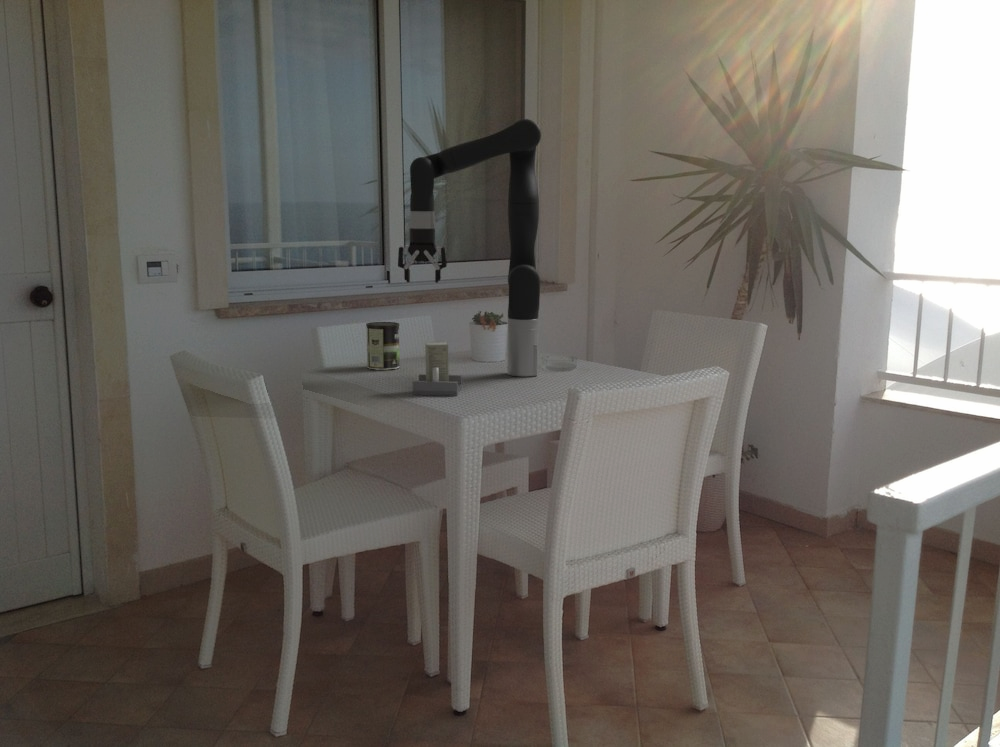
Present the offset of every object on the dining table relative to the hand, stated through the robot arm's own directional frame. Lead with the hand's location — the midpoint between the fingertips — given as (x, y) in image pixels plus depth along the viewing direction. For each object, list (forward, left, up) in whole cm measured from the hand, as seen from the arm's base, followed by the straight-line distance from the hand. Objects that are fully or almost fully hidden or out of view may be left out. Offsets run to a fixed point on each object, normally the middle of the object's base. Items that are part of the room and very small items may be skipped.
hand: (422, 282), depth 280 cm
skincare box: (-8, +24, -27) cm, 37 cm away
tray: (-8, +24, -28) cm, 38 cm away
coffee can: (+14, -11, -28) cm, 33 cm away
